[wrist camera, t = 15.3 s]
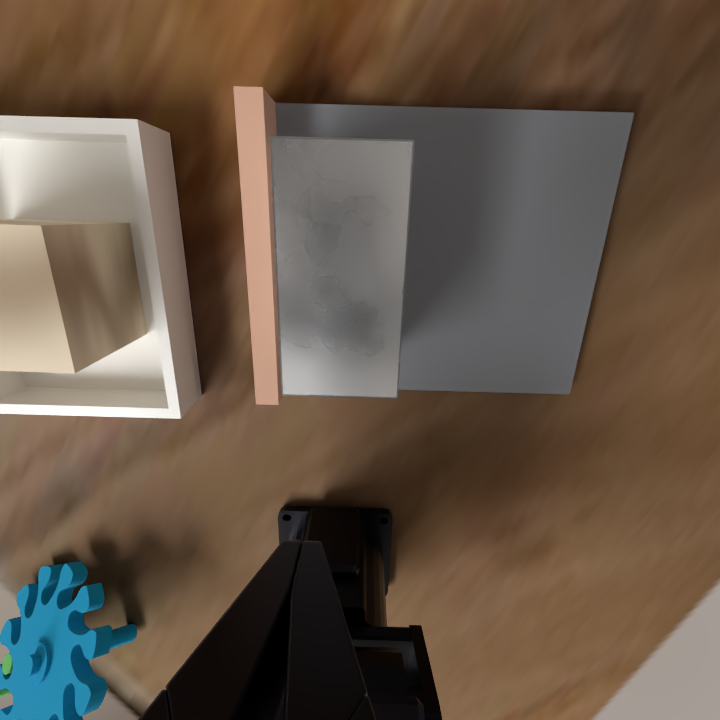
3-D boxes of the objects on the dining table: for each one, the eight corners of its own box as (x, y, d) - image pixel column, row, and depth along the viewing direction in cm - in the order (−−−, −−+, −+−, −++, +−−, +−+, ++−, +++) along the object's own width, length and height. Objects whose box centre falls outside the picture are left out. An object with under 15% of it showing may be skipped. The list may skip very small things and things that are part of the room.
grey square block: (389, 352, 19) (397, 398, 14) (302, 350, 19) (281, 395, 14) (399, 162, 16) (414, 139, 11) (297, 159, 16) (270, 136, 11)
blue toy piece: (85, 541, 22) (82, 778, 18) (176, 531, 27) (192, 714, 23) (-21, 593, 26) (-44, 801, 21) (78, 576, 30) (74, 741, 26)
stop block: (146, 333, 19) (75, 373, 14) (41, 330, 19) (-66, 368, 14) (129, 222, 17) (40, 225, 12) (13, 218, 17) (-119, 220, 12)
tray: (201, 395, 21) (180, 418, 18) (28, 390, 21) (-15, 413, 18) (169, 132, 16) (137, 119, 14) (-47, 126, 16) (-116, 112, 14)
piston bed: (562, 387, 20) (591, 413, 18) (268, 379, 20) (253, 404, 18) (621, 117, 16) (671, 98, 13) (252, 107, 16) (230, 86, 13)
